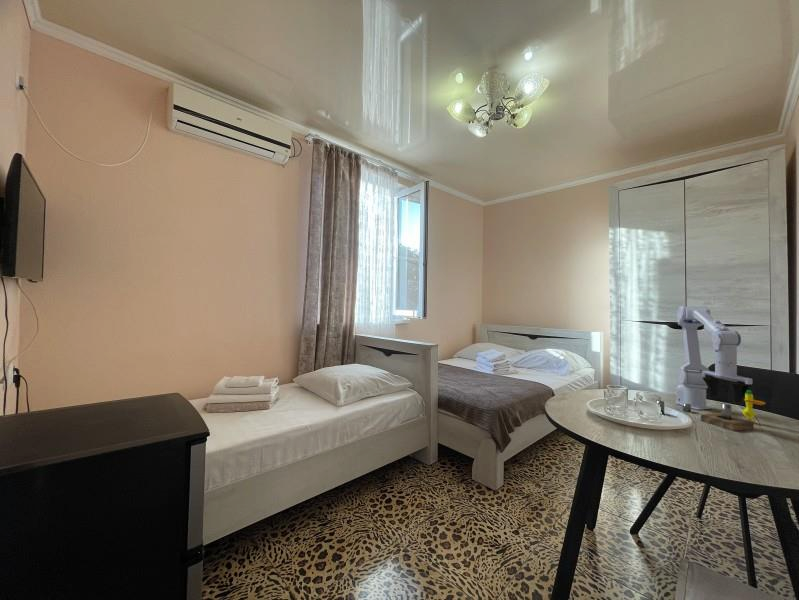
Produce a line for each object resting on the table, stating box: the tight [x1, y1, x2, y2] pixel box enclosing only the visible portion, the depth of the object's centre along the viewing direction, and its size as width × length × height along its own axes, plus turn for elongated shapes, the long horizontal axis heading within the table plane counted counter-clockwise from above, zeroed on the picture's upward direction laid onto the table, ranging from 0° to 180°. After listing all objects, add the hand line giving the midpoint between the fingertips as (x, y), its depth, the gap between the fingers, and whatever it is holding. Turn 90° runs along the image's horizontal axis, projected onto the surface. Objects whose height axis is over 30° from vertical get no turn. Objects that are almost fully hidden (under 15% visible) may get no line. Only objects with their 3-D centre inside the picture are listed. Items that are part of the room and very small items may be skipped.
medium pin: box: [655, 399, 665, 415], centre depth 133 cm, size 3×3×5 cm
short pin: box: [682, 403, 692, 413], centre depth 136 cm, size 3×3×3 cm
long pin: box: [721, 402, 733, 420], centre depth 121 cm, size 3×3×8 cm
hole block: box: [700, 412, 755, 431], centre depth 121 cm, size 10×10×2 cm
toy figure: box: [739, 389, 766, 425], centre depth 123 cm, size 7×4×12 cm, turn 29°
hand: (725, 399), depth 121 cm, fingers open, 7 cm apart
